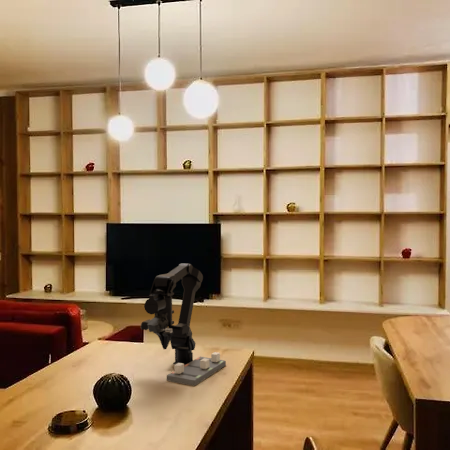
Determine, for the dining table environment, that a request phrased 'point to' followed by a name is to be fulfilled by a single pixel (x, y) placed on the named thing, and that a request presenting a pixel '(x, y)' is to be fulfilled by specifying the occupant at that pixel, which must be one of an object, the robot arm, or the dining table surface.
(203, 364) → the middle switch
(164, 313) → the robot arm
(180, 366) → the switch
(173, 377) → the breaker panel
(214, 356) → the far switch
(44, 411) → the dining table surface
